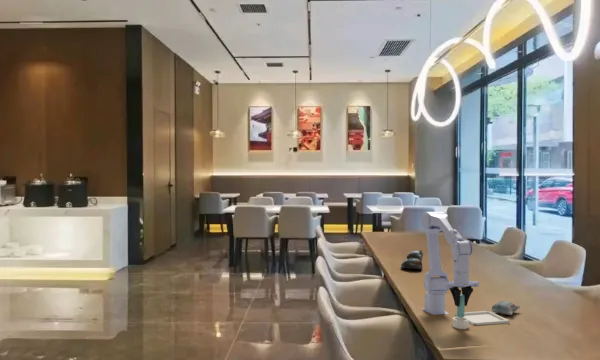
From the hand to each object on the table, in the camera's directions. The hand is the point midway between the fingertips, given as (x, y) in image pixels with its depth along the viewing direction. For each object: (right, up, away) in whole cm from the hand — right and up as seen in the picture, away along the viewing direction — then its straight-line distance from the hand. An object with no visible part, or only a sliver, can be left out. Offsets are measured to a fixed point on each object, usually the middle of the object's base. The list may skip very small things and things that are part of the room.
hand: (460, 305), depth 196 cm
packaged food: (+26, -9, +20) cm, 35 cm away
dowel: (0, -4, 0) cm, 4 cm away
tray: (+12, -9, +10) cm, 18 cm away
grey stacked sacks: (+7, -7, +115) cm, 116 cm away
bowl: (0, -9, 0) cm, 9 cm away
